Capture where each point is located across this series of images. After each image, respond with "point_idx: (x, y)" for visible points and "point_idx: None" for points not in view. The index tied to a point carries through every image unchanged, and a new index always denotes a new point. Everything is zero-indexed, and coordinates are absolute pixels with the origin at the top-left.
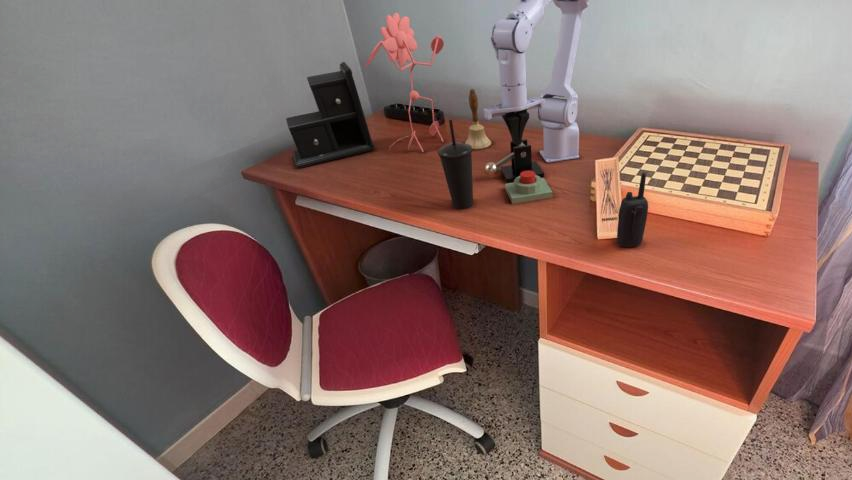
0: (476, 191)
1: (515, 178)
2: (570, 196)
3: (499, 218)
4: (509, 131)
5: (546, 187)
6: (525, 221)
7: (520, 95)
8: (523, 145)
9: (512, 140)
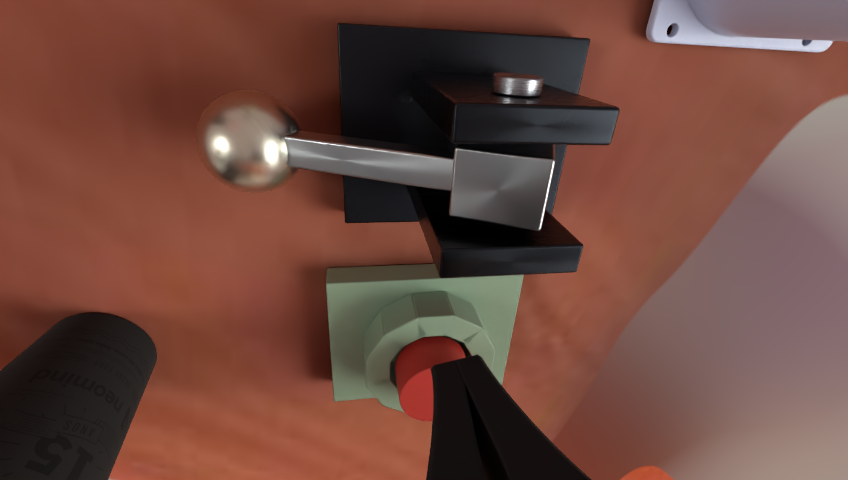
0: (165, 247)
1: (397, 220)
2: (552, 371)
3: (272, 447)
4: (430, 451)
5: (496, 353)
6: (357, 467)
7: None
8: (533, 227)
9: (433, 386)
